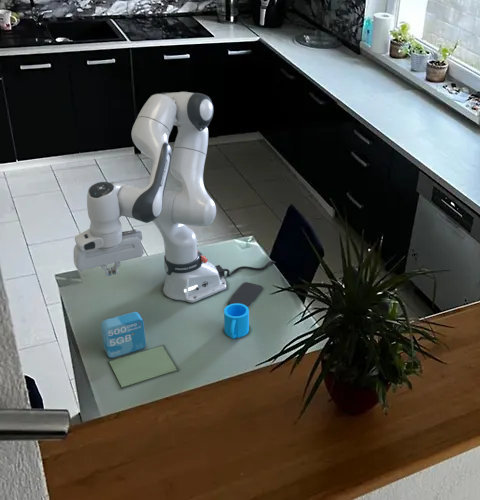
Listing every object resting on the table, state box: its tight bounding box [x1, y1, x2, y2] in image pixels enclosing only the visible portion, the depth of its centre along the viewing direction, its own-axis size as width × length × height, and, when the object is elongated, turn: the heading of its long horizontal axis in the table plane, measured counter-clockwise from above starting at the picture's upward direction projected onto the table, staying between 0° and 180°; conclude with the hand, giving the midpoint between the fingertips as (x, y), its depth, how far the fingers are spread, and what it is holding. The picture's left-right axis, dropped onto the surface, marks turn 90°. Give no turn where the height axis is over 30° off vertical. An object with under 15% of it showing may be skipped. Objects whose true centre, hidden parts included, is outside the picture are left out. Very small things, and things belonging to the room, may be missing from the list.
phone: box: [227, 281, 263, 308], centre depth 250 cm, size 7×1×15 cm
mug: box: [223, 303, 250, 340], centre depth 230 cm, size 12×8×8 cm
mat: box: [108, 345, 178, 389], centre depth 215 cm, size 17×13×1 cm
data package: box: [100, 311, 147, 359], centre depth 218 cm, size 12×4×12 cm, turn 123°
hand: (111, 274), depth 214 cm, fingers closed
